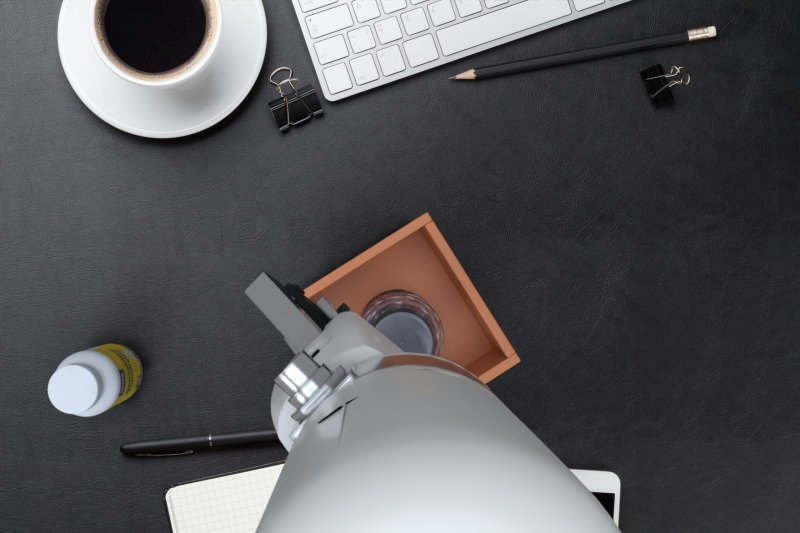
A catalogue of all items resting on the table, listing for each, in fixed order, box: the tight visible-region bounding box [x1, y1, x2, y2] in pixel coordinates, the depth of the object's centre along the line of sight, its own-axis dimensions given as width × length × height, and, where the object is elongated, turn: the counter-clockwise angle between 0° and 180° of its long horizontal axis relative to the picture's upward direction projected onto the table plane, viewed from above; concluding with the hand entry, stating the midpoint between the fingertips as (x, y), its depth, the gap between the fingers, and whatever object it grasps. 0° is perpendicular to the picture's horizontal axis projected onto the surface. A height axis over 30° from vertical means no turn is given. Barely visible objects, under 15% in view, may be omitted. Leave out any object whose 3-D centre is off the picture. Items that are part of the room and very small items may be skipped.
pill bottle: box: [47, 342, 144, 418], centre depth 77 cm, size 6×6×12 cm
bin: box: [303, 211, 522, 385], centre depth 56 cm, size 12×12×7 cm
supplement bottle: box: [361, 289, 444, 357], centre depth 53 cm, size 6×6×11 cm
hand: (391, 389), depth 41 cm, fingers open, 9 cm apart
